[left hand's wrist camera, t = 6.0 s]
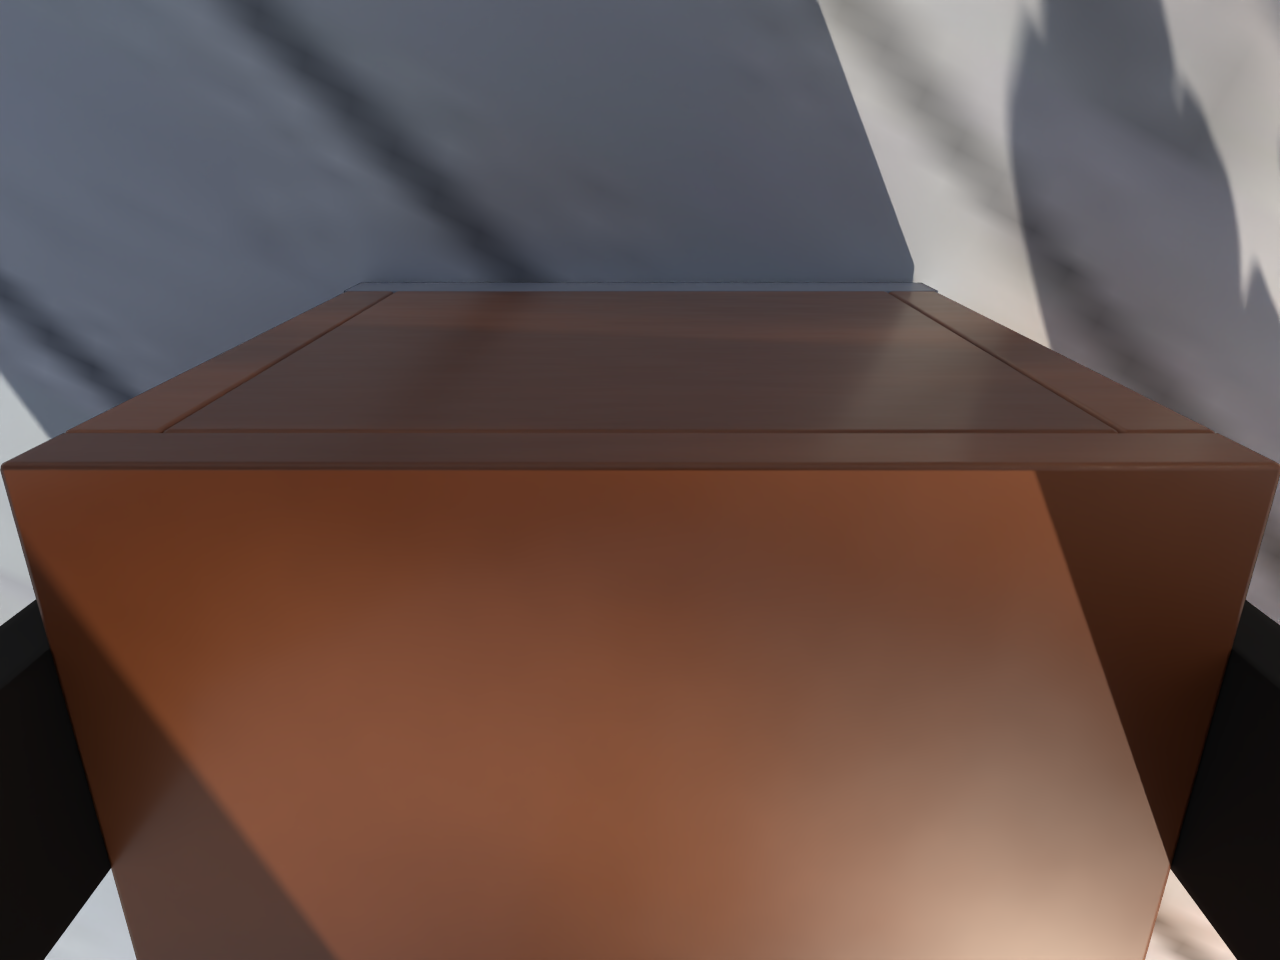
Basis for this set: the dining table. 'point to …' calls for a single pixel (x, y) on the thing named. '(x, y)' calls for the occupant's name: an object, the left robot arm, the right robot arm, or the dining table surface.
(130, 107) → the dining table surface
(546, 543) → the cabinet
